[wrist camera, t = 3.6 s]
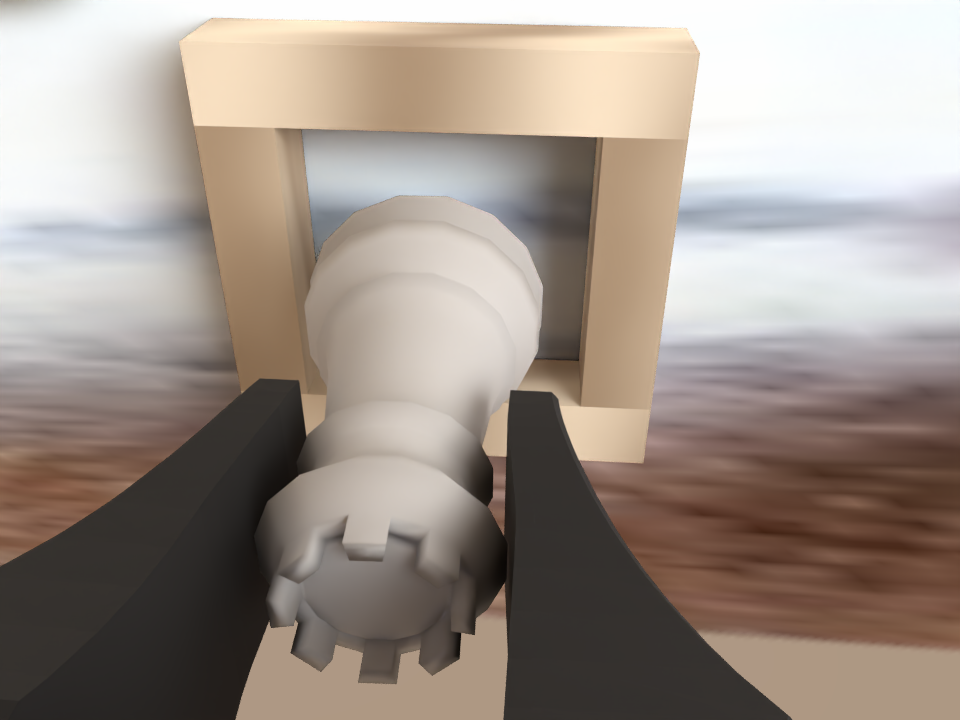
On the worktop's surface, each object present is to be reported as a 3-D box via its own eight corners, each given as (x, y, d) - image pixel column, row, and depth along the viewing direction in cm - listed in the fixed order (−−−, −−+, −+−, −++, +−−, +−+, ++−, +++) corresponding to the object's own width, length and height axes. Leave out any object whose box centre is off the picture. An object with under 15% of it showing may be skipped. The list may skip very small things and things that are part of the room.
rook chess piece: (403, 417, 19) (341, 766, 12) (266, 259, 17) (102, 572, 10) (586, 322, 17) (627, 660, 11) (458, 137, 15) (412, 410, 9)
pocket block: (686, 28, 16) (700, 53, 15) (636, 415, 21) (642, 463, 20) (212, 17, 17) (178, 41, 15) (271, 398, 22) (250, 444, 20)
